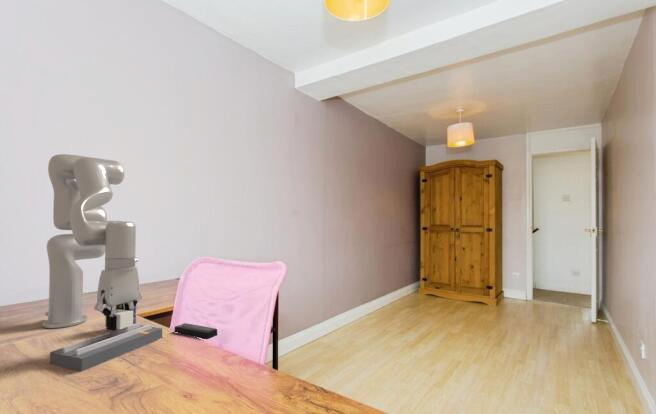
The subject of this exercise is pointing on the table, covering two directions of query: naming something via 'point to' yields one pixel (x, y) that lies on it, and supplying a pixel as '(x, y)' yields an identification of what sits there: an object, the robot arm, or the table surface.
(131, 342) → the fader console
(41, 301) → the table surface
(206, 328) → the multiport hub
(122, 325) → the fader knob
